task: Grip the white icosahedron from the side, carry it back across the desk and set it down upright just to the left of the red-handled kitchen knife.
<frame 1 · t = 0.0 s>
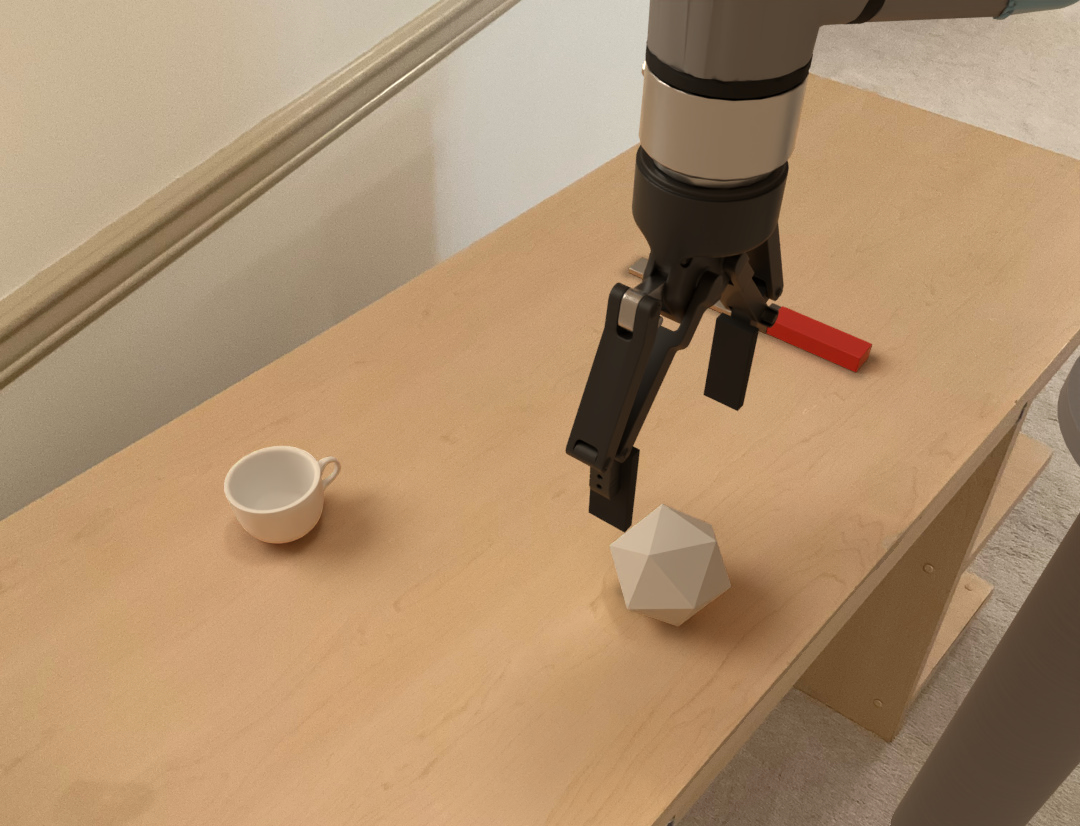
hand: (669, 456, 66), 19 cm above the table, tool pointing down, fingers open, 13 cm apart
teacup: (296, 517, 88), on the table
white icosahedron: (664, 598, 82), on the table
knife: (738, 311, 106), on the table
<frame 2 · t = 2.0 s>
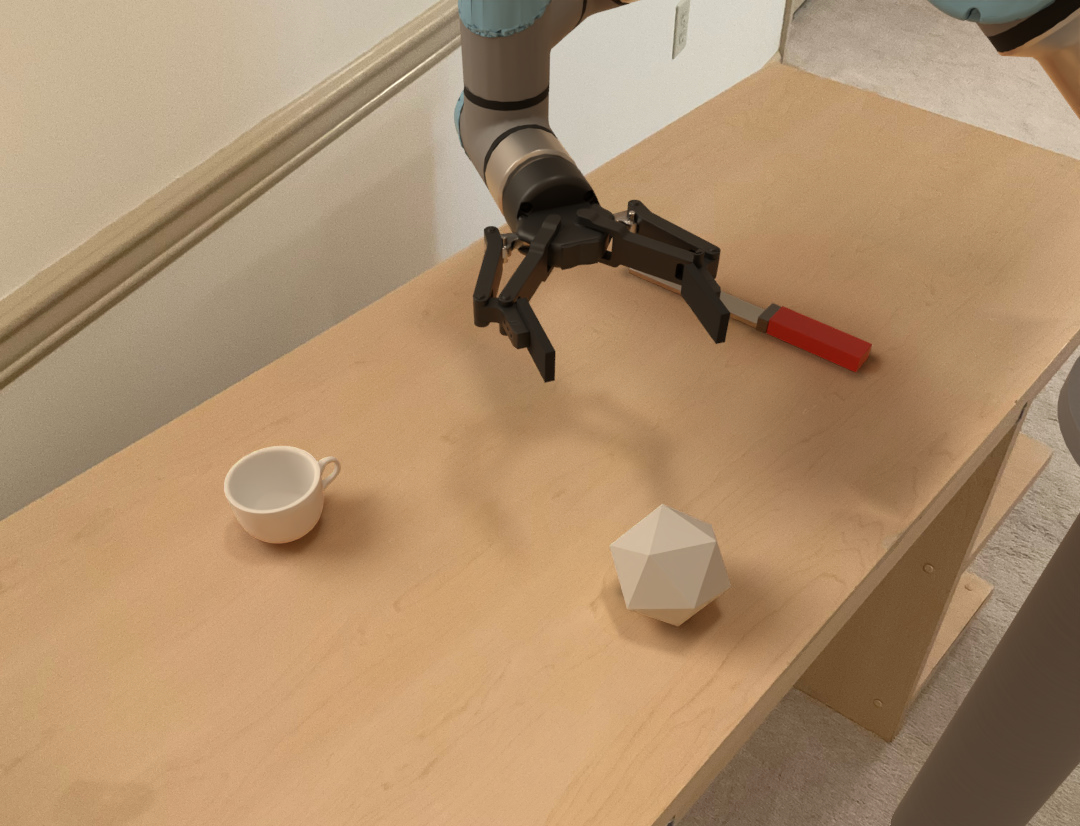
hand: (638, 348, 74), 18 cm above the table, tool horizontal, fingers open, 13 cm apart
nothing on the table moved.
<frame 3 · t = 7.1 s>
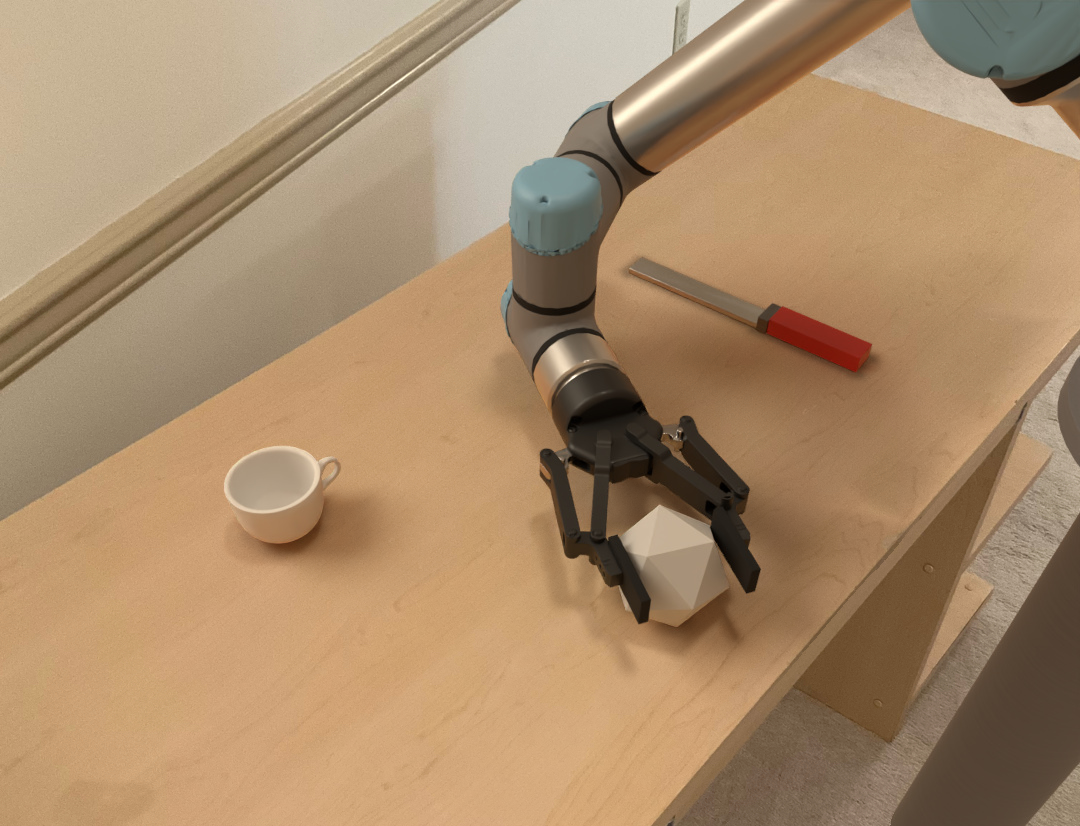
hand: (699, 596, 74), 6 cm above the table, tool horizontal, fingers closed on white icosahedron, 8 cm apart
white icosahedron: (663, 599, 82), on the table, touching gripper
everything else where it was.
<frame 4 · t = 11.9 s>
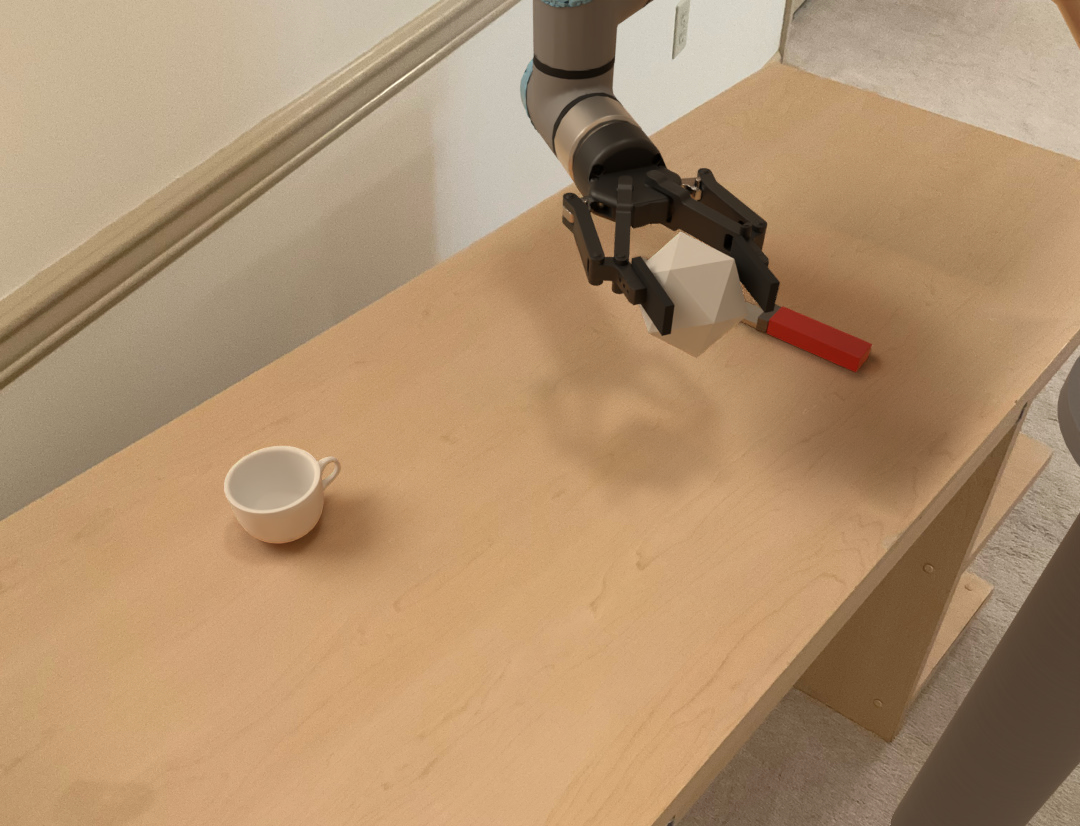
hand: (720, 308, 77), 18 cm above the table, tool horizontal, fingers closed on white icosahedron, 8 cm apart
white icosahedron: (682, 337, 85), point 12 cm above the table, touching gripper
everything else where it was.
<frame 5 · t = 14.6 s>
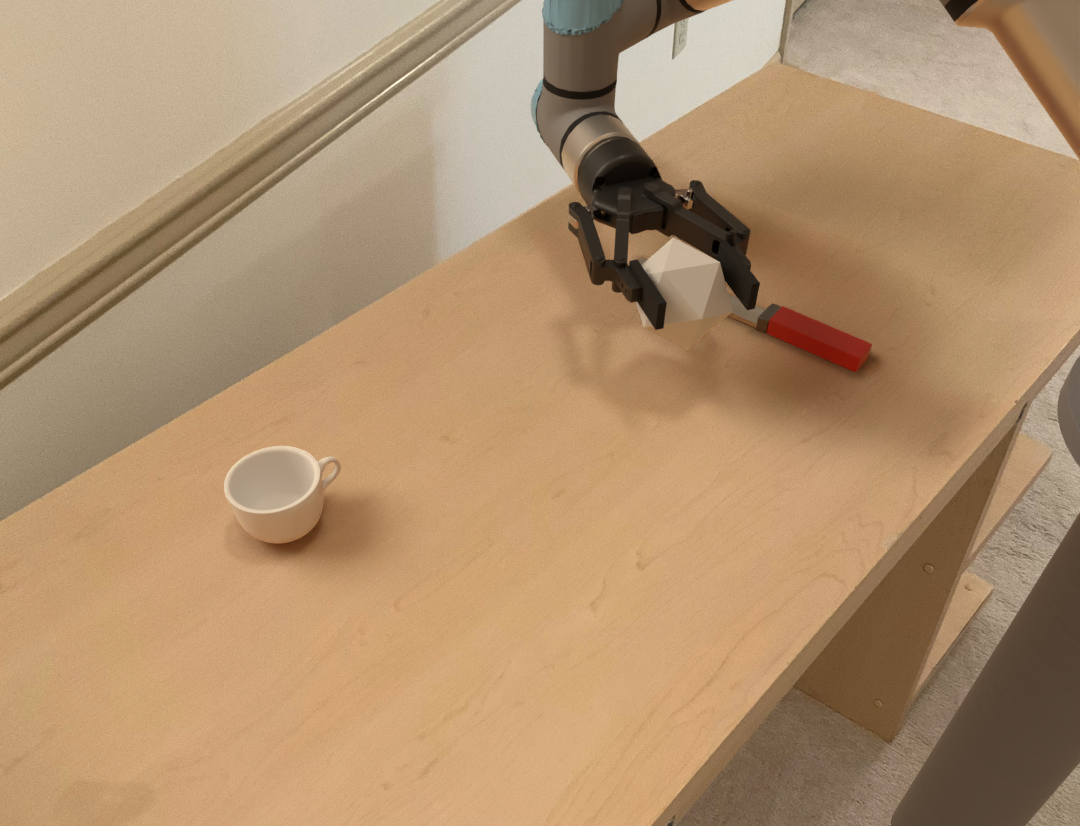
hand: (707, 306, 87), 12 cm above the table, tool horizontal, fingers closed on white icosahedron, 8 cm apart
white icosahedron: (675, 331, 95), point 6 cm above the table, touching gripper
everything else where it was.
when the fingers open (6 cm above the table, at t = 16.7 s): white icosahedron stays where it is, on the table.
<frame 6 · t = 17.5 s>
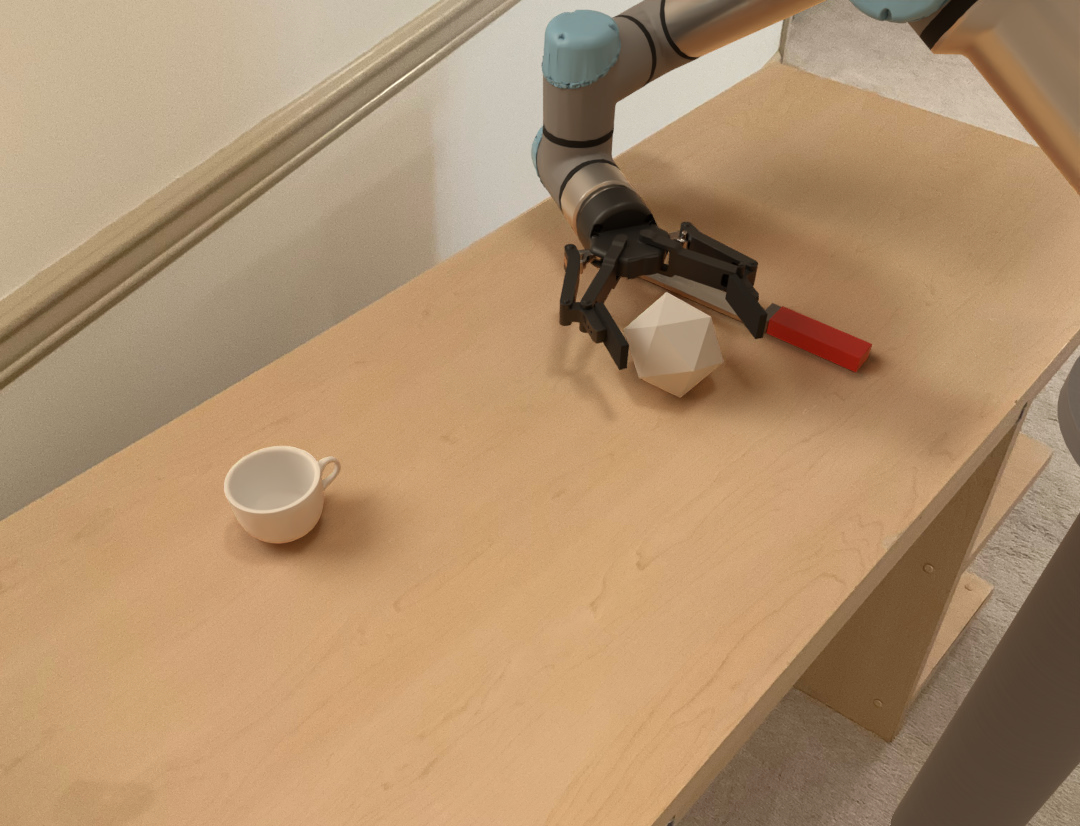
hand: (694, 342, 92), 7 cm above the table, tool horizontal, fingers open, 13 cm apart
white icosahedron: (668, 379, 99), on the table
everything else where it was.
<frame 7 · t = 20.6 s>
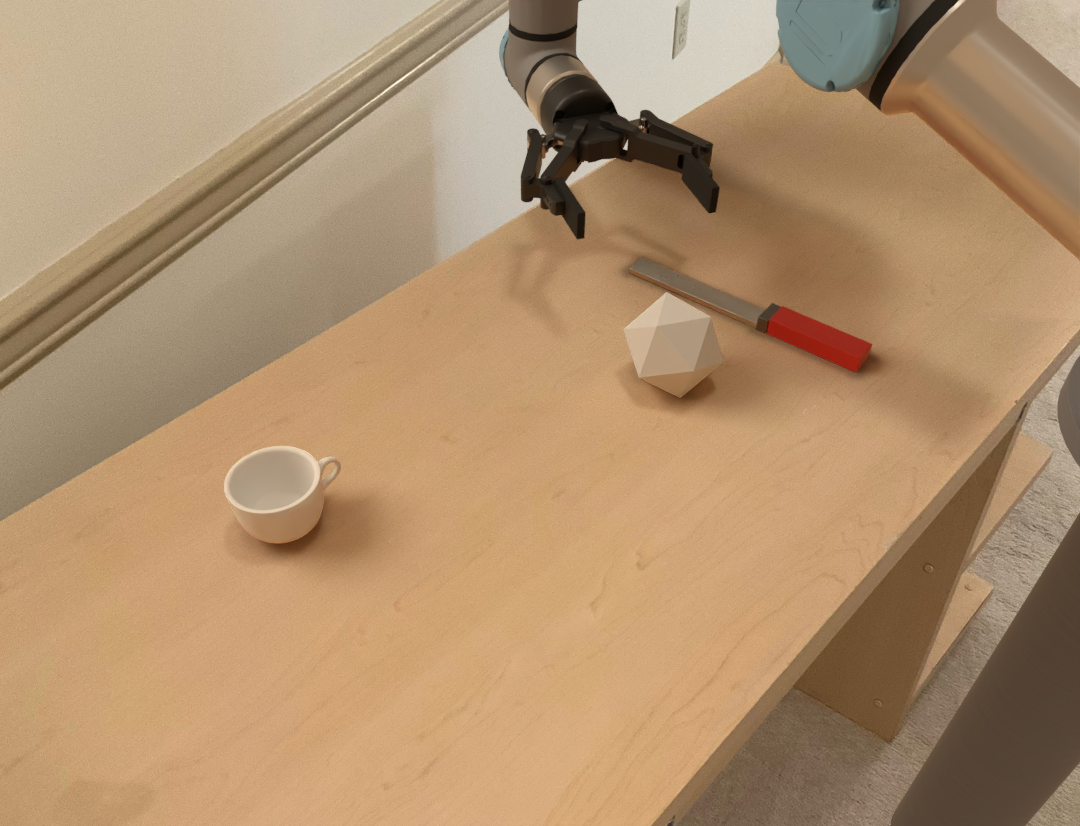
hand: (648, 213, 96), 12 cm above the table, tool horizontal, fingers open, 13 cm apart
nothing on the table moved.
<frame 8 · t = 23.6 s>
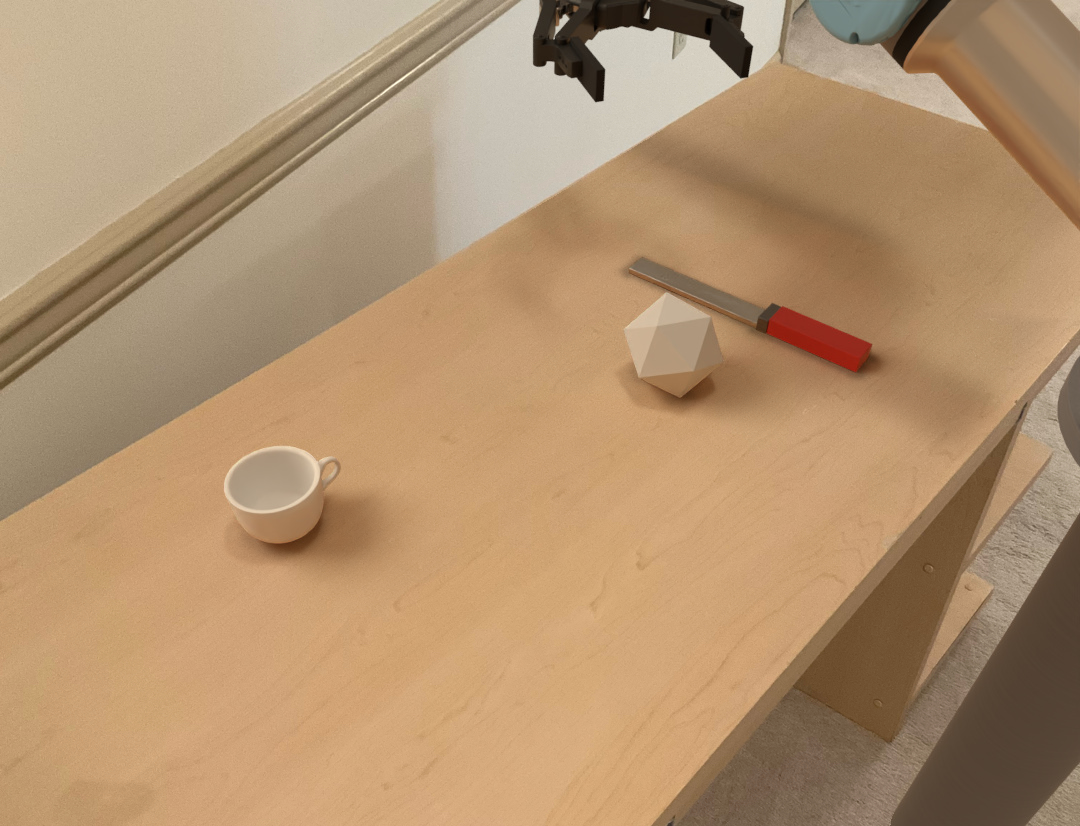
hand: (675, 74, 87), 25 cm above the table, tool horizontal, fingers open, 13 cm apart
nothing on the table moved.
at the end: white icosahedron inside the target area on the table beside the knife (0.9 cm from its centre), on the table; white icosahedron tilted 0°; the gripper is holding nothing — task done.
